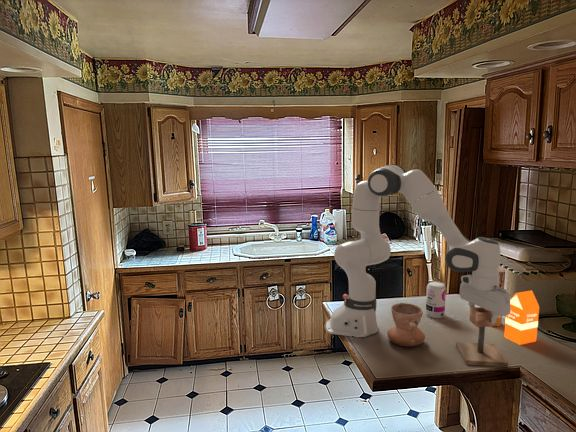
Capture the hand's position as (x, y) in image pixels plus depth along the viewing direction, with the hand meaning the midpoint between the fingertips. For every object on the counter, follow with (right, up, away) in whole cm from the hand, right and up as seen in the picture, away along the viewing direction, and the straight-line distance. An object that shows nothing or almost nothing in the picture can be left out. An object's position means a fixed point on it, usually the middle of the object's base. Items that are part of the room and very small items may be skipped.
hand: (482, 318), depth 155 cm
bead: (-1, -2, 0) cm, 2 cm away
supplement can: (-4, -8, +40) cm, 41 cm away
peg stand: (0, -15, +3) cm, 15 cm away
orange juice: (+22, -12, +16) cm, 30 cm away
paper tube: (+18, -10, +30) cm, 36 cm away
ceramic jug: (-24, -13, +15) cm, 31 cm away
